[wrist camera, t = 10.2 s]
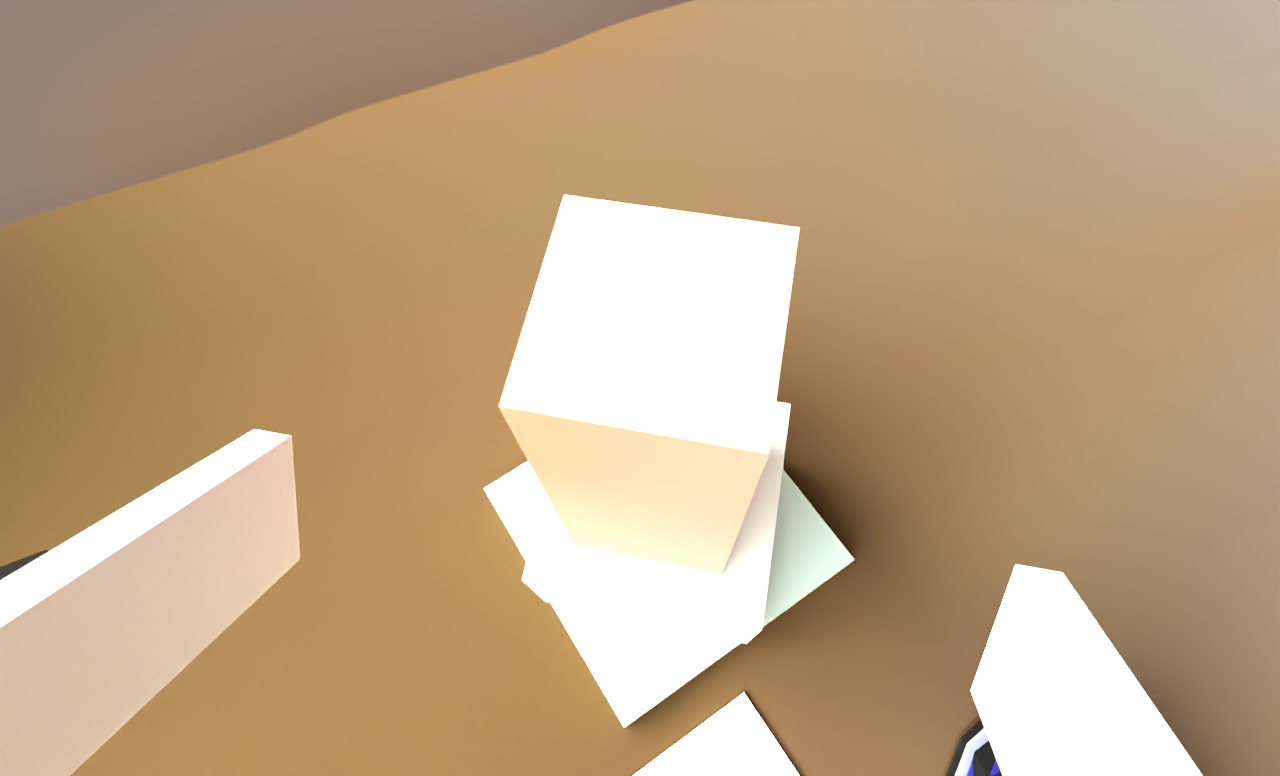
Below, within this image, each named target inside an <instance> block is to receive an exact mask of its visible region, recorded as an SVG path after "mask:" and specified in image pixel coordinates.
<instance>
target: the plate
mask: <svg viewBox="0 0 1280 776" xmlns="http://www.w3.org/2000/svg"><path fill="white" fill-rule="evenodd" d="M483 489H484V491H485V492H486V494H487V496H488V497H489V499H490V501H491V502H492V504H493V506H494V508H495V509H496V511H497V513H498V514H499V516H500V518H501V519H502V521H503V523H504V525H505V526H506V528H507V530H508V531H509V533H510V535H511V536H512V538H513V540H514V542H515V543H516V545H517V547H518V548H519V550H520V552H521V553H522V555H523V557H524V559H525V560H526V562H527V558H528V554H529V551H530V547H531V543H532V539H533V536H534V532H535V528H536V524H537V520H538V517H539V513H540V509H541V505H542V502H543V498H544V494H545V490H544V489H543V487H542V485H541V483H540V481H539V480H538V478H537V476H536V474H535V472H534V470H533V469H532V467H531V465H530V463H529V461H527V462H525V463H524V464H522V465H520V466H519V467H517V468H515V469H514V470H512V471H511V472H509V473H507V474H506V475H504V476H502V477H501V478H499V479H498V480H496V481H494V482H493V483H491V484H490V485H488V486H486V487H485V488H483ZM854 560H855V559H854V558H853V557H852V556H851V554H850V553H849V552H848V551H847V549H846V548H845V547H844V545H843V544H842V543H841V542H840V540H839V539H838V538H837V537H836V535H835V534H834V533H833V532H832V530H831V529H830V528H829V526H828V525H827V524H826V523H825V521H824V520H823V519H822V518H821V516H820V515H819V514H818V513H817V511H816V510H815V509H814V507H813V506H812V505H811V504H810V502H809V501H808V500H807V499H806V497H805V496H804V495H803V494H802V492H801V491H800V490H799V488H798V487H797V486H796V485H795V483H794V482H793V481H792V480H791V478H790V477H789V476H788V475H787V473H786V472H785V471H784V469H783V470H782V478H781V486H780V494H779V502H778V510H777V517H776V525H775V533H774V541H773V549H772V557H771V565H770V573H769V581H768V589H767V596H766V604H765V612H764V620H763V627H764V626H765V625H767V624H768V623H769V622H771V621H772V620H774V619H775V618H776V617H778V616H779V615H780V614H782V613H783V612H785V611H786V610H787V609H789V608H790V607H791V606H793V605H794V604H796V603H797V602H798V601H800V600H801V599H802V598H804V597H805V596H807V595H808V594H809V593H811V592H812V591H813V590H815V589H816V588H818V587H819V586H820V585H822V584H823V583H824V582H826V581H827V580H828V579H830V578H831V577H833V576H834V575H835V574H837V573H838V572H839V571H841V570H842V569H844V568H845V567H846V566H848V565H849V564H850V563H851V562H853V561H854ZM551 605H552V606H553V608H554V610H555V611H556V613H557V615H558V616H559V618H560V620H561V622H562V623H563V625H564V627H565V628H566V630H567V632H568V633H569V635H570V637H571V639H572V640H573V642H574V644H575V645H576V647H577V649H578V650H579V652H580V654H581V656H582V657H583V659H584V661H585V662H586V664H587V666H588V668H589V669H590V671H591V673H592V674H593V676H594V678H595V679H596V681H597V683H598V685H599V686H600V688H601V690H602V691H603V693H604V695H605V696H606V698H607V700H608V702H609V703H610V705H611V707H612V708H613V710H614V712H615V713H616V715H617V717H618V719H619V720H620V722H621V724H622V725H623V727H624V728H625V727H627V726H628V725H630V724H631V723H632V722H634V721H635V720H636V719H638V718H639V717H641V716H642V715H643V714H645V713H646V712H647V711H649V710H650V709H652V708H653V707H654V706H656V705H657V704H658V703H660V702H661V701H663V700H664V699H665V698H667V697H668V696H669V695H671V694H672V693H673V692H675V691H676V690H678V689H679V688H680V687H682V686H683V685H684V684H686V683H687V682H689V681H690V680H691V679H693V678H694V677H695V676H697V675H698V674H700V673H701V672H702V671H704V670H705V669H706V668H708V667H709V666H711V665H712V664H713V663H715V662H716V661H717V660H719V659H720V658H721V657H723V656H724V655H726V654H727V653H728V652H730V651H731V650H732V649H734V648H735V647H737V646H738V645H739V644H741V643H740V642H735V641H730V640H725V639H721V638H716V637H711V636H706V635H701V634H697V633H692V632H687V631H682V630H677V629H673V628H668V627H663V626H658V625H654V624H649V623H644V622H639V621H634V620H630V619H625V618H620V617H615V616H610V615H606V614H601V613H596V612H591V611H587V610H582V609H577V608H572V607H567V606H563V605H558V604H553V603H551Z"/></svg>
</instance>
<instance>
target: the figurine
mask: <svg viewBox="0 0 1280 776" xmlns="http://www.w3.org/2000/svg"><path fill="white" fill-rule="evenodd" d="M947 776H1002V773H1001V770H1000V768H999V765H998V763H997V760H996V757H995V755H994V752H993V749H992V747H991V744H990V741H989V739H988V736H987V733H986V731H985V728H984V726H983V723H982V720H980V721H979V722H978V723H977V724H976V725H975V726H974V727H973V728H972V729H971V730H969V731H968V732H967V733H966V734H965V735H964V736H963V737H962V738H961V739H960V741H959V744H958V747H957V749H956V752H955V755H954V757H953V760H952V762H951V765H950V768H949V770H948V773H947Z"/></svg>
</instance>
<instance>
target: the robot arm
mask: <svg viewBox="0 0 1280 776" xmlns="http://www.w3.org/2000/svg"><path fill="white" fill-rule="evenodd" d="M299 560H300V546H299V532H298V518H297V503H296V489H295V475H294V460H293V446H292V435H286V434H280V433H275V432H269V431H263V430H258V429H253V430H251V431H250V432H248V433H246V434H245V435H243V436H241V437H240V438H238V439H236V440H235V441H233V442H231V443H230V444H228V445H226V446H225V447H223V448H221V449H220V450H218V451H216V452H214V453H213V454H211V455H209V456H208V457H206V458H204V459H203V460H201V461H199V462H198V463H196V464H194V465H193V466H191V467H189V468H188V469H186V470H184V471H183V472H181V473H179V474H178V475H176V476H174V477H173V478H171V479H169V480H168V481H166V482H164V483H163V484H161V485H159V486H158V487H156V488H154V489H152V490H151V491H149V492H147V493H146V494H144V495H142V496H141V497H139V498H137V499H136V500H134V501H132V502H131V503H129V504H127V505H126V506H124V507H122V508H121V509H119V510H117V511H116V512H114V513H112V514H111V515H109V516H107V517H106V518H104V519H102V520H101V521H99V522H97V523H95V524H94V525H92V526H90V527H89V528H87V529H85V530H84V531H82V532H80V533H79V534H77V535H75V536H74V537H72V538H70V539H69V540H67V541H65V542H64V543H62V544H60V545H59V546H57V547H55V548H54V549H52V550H50V551H47V550H45V551H42V552H39V553H37V554H34V555H31V556H29V557H26V558H23V559H21V560H18V561H15V562H12V563H10V564H7V565H4V566H2V567H0V776H70V775H72V774H73V773H74V772H75V771H76V770H77V769H78V768H79V767H80V766H81V765H82V764H83V763H84V762H85V761H86V760H87V759H89V758H90V757H91V756H92V755H93V754H94V753H95V752H96V751H97V750H98V749H99V748H100V747H101V746H102V745H103V744H104V743H106V742H107V741H108V740H109V739H110V738H111V737H112V736H113V735H114V734H115V733H116V732H117V731H118V730H119V729H120V728H121V727H123V726H124V725H125V724H126V723H127V722H128V721H129V720H130V719H131V718H132V717H133V716H134V715H135V714H136V713H137V712H138V711H139V710H141V709H142V708H143V707H144V706H145V705H146V704H147V703H148V702H149V701H150V700H151V699H152V698H153V697H154V696H155V695H156V694H158V693H159V692H160V691H161V690H162V689H163V688H164V687H165V686H166V685H167V684H168V683H169V682H170V681H171V680H172V679H173V678H175V677H176V676H177V675H178V674H179V673H180V672H181V671H182V670H183V669H184V668H185V667H186V666H187V665H188V664H189V663H190V662H192V661H193V660H194V659H195V658H196V657H197V656H198V655H199V654H200V653H201V652H202V651H203V650H204V649H205V648H206V647H207V646H209V645H210V644H211V643H212V642H213V641H214V640H215V639H216V638H217V637H218V636H219V635H220V634H221V633H222V632H223V631H224V630H226V629H227V628H228V627H229V626H230V625H231V624H232V623H233V622H234V621H235V620H236V619H237V618H238V617H239V616H240V615H241V614H242V613H244V612H245V611H246V610H247V609H248V608H249V607H250V606H251V605H252V604H253V603H254V602H255V601H256V600H257V599H258V598H259V597H261V596H262V595H263V594H264V593H265V592H266V591H267V590H268V589H269V588H270V587H271V586H272V585H273V584H274V583H275V582H276V581H278V580H279V579H280V578H281V577H282V576H283V575H284V574H285V573H286V572H287V571H288V570H289V569H290V568H291V567H292V566H293V565H295V564H296V563H297V562H298V561H299ZM970 691H971V694H972V697H973V699H974V702H975V704H976V707H977V710H978V712H979V715H980V718H981V720H982V723H983V726H984V728H985V731H986V733H987V736H988V739H989V741H990V744H991V747H992V749H993V752H994V755H995V757H996V760H997V763H998V765H999V768H1000V770H1001V773H1002V776H1203V775H1202V774H1201V772H1200V771H1199V769H1198V768H1197V766H1196V765H1195V764H1194V762H1193V761H1192V759H1191V758H1190V756H1189V755H1188V753H1187V752H1186V750H1185V749H1184V748H1183V746H1182V745H1181V743H1180V742H1179V740H1178V739H1177V737H1176V736H1175V734H1174V733H1173V732H1172V730H1171V729H1170V727H1169V726H1168V724H1167V723H1166V721H1165V720H1164V719H1163V717H1162V716H1161V714H1160V713H1159V711H1158V710H1157V708H1156V707H1155V705H1154V704H1153V703H1152V701H1151V700H1150V698H1149V697H1148V695H1147V694H1146V692H1145V691H1144V689H1143V688H1142V687H1141V685H1140V684H1139V682H1138V681H1137V679H1136V678H1135V676H1134V675H1133V673H1132V672H1131V671H1130V669H1129V668H1128V666H1127V665H1126V663H1125V662H1124V660H1123V659H1122V657H1121V656H1120V655H1119V653H1118V652H1117V650H1116V649H1115V647H1114V646H1113V644H1112V643H1111V642H1110V640H1109V639H1108V637H1107V636H1106V634H1105V633H1104V631H1103V630H1102V628H1101V627H1100V626H1099V624H1098V623H1097V621H1096V620H1095V618H1094V617H1093V615H1092V614H1091V612H1090V611H1089V610H1088V608H1087V607H1086V605H1085V604H1084V602H1083V601H1082V599H1081V598H1080V596H1079V595H1078V594H1077V592H1076V591H1075V589H1074V588H1073V586H1072V585H1071V583H1070V582H1069V581H1068V579H1067V578H1066V576H1065V575H1064V573H1063V572H1059V571H1053V570H1048V569H1042V568H1036V567H1031V566H1025V565H1019V564H1015V566H1014V569H1013V572H1012V575H1011V578H1010V580H1009V583H1008V586H1007V589H1006V592H1005V594H1004V597H1003V600H1002V603H1001V606H1000V609H999V611H998V614H997V617H996V620H995V623H994V625H993V628H992V631H991V634H990V637H989V639H988V642H987V645H986V648H985V651H984V653H983V656H982V659H981V662H980V665H979V667H978V670H977V673H976V676H975V679H974V681H973V684H972V687H971V690H970Z"/></svg>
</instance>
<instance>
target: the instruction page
mask: <svg viewBox="0 0 1280 776" xmlns="http://www.w3.org/2000/svg"><path fill="white" fill-rule="evenodd" d="M632 776H800V775H799V774H798V772H797V771H796V769H795V768H794V766H793V765H792V763H791V762H790V760H789V759H788V757H787V756H786V754H785V753H784V751H783V750H782V748H781V747H780V745H779V744H778V742H777V741H776V739H775V738H774V736H773V735H772V733H771V732H770V730H769V729H768V727H767V726H766V724H765V723H764V721H763V720H762V718H761V717H760V715H759V714H758V712H757V711H756V709H755V708H754V706H753V705H752V703H751V702H750V700H749V699H748V697H747V696H746V694H745V693H744V692H743V693H742V694H741V695H739V696H738V697H737V698H735V699H734V700H733V701H731V702H730V703H729V704H727V705H726V706H725V707H723V708H722V709H721V710H719V711H718V712H717V713H715V714H714V715H713V716H711V717H710V718H709V719H707V720H706V721H705V722H703V723H702V724H701V725H699V726H698V727H697V728H695V729H694V730H693V731H691V732H690V733H689V734H687V735H686V736H685V737H683V738H682V739H681V740H679V741H678V742H677V743H675V744H674V745H673V746H671V747H670V748H668V749H667V750H666V751H664V752H663V753H662V754H660V755H659V756H658V757H656V758H655V759H654V760H652V761H651V762H650V763H648V764H647V765H646V766H644V767H643V768H642V769H640V770H639V771H638V772H636V773H635V774H634V775H632Z"/></svg>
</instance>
